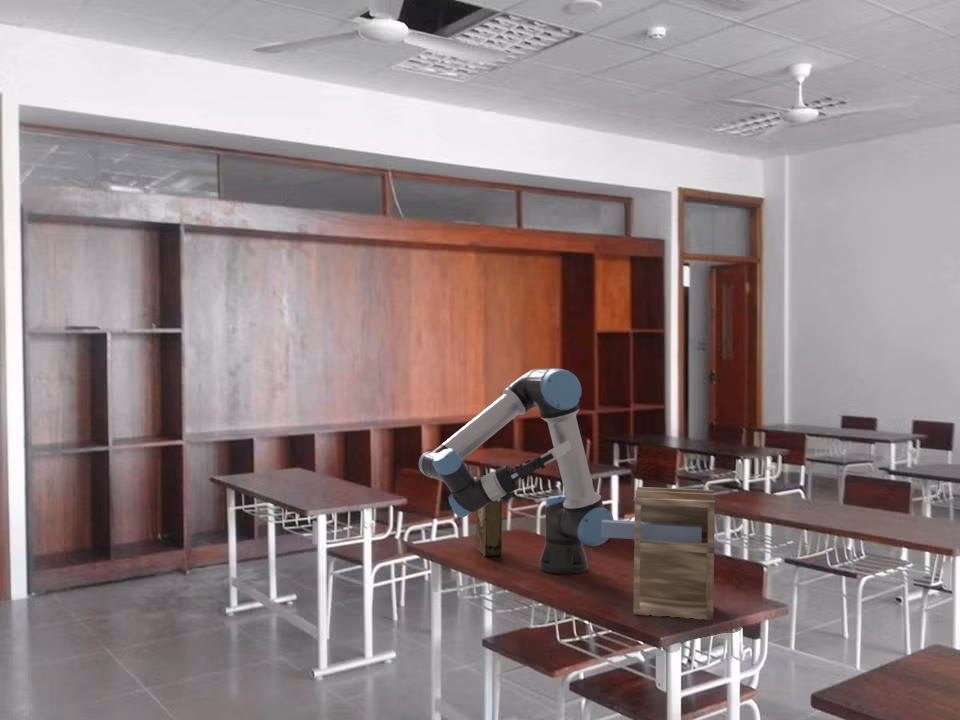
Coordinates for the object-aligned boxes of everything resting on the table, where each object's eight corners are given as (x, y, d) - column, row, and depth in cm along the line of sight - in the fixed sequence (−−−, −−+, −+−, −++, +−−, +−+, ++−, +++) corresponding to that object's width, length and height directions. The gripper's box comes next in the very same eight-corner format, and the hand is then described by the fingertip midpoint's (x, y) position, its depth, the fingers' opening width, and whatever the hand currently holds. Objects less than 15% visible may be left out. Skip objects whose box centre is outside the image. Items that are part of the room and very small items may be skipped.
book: (475, 547, 311) (475, 475, 311) (490, 546, 312) (491, 475, 312) (485, 557, 295) (486, 481, 295) (501, 557, 296) (502, 481, 296)
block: (602, 534, 242) (602, 519, 242) (701, 539, 236) (701, 524, 236) (600, 537, 238) (601, 522, 238) (701, 542, 232) (701, 527, 232)
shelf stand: (636, 600, 245) (637, 485, 245) (711, 605, 240) (713, 488, 240) (633, 614, 231) (635, 492, 231) (713, 620, 227) (714, 496, 227)
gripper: (515, 488, 262) (578, 454, 258) (498, 501, 238) (567, 464, 234) (503, 465, 263) (566, 431, 259) (485, 476, 238) (554, 438, 234)
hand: (567, 446), depth 246 cm, fingers open, 13 cm apart
